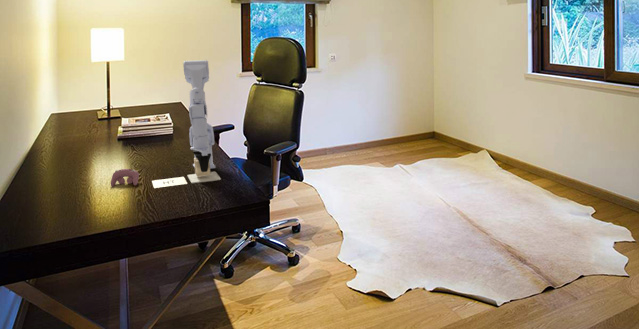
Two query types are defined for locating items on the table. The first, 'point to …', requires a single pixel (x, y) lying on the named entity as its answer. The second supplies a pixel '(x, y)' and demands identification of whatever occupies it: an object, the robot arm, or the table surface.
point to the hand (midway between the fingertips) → (203, 169)
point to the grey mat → (203, 177)
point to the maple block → (198, 169)
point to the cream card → (169, 182)
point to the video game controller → (122, 173)
